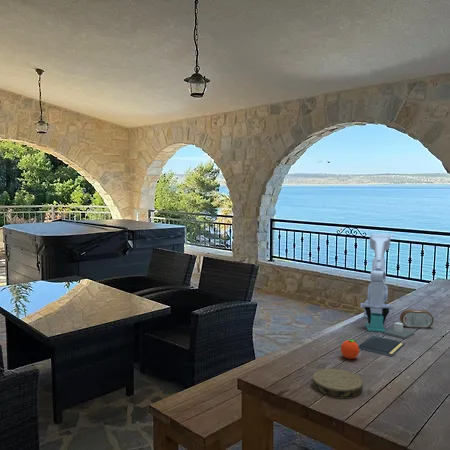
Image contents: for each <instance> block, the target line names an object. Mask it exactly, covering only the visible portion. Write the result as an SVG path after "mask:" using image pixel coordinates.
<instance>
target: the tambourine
mask: <svg viewBox="0 0 450 450" xmlns="http://www.w3.org/2000/svg"><path fill="white" fill-rule="evenodd" d="M363 385H364V381H363V380H362V377H360V376H359V375H358V374H356V373H353V372H351V371H347V370H344V369H338V368H323V369H320V370H316V371H315V372H314V373H313V375H312V386H313V388H314V389H315V390H316V391H317V392H319V393H321V394H323V395H326V396H329V397H332V398H338V399H350V398H356V397H358V396H360V395H361V394H363V390H364V389H363Z"/></svg>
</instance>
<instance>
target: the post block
mask: <svg viewBox="0 0 450 450" xmlns="http://www.w3.org/2000/svg"><path fill="white" fill-rule="evenodd" d="M382 334H383V335H386V336H390V337H395V338H398V339H401V340H406V339H408V338H410V337H412V336H414V335H415V332H414V331H410V330H406V329H404V324H403V323H402V322H399V321H397V322H395V323H394V326H392V327H390V328H388V329H386V330H385V331H383V332H382Z"/></svg>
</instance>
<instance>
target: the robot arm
mask: <svg viewBox="0 0 450 450" xmlns="http://www.w3.org/2000/svg"><path fill="white" fill-rule="evenodd" d="M390 246H391V234H390V233H377V232H376V233H375V232H374V233H373V232H371V233H370V234H369V247H370V249H371V250H373V251H374V258H373V259H372V264H371V265H372V267H371V271H370V283H369V284H368V285H367V296H366V297H367V299H365V302H360V308H361V309H363V315H362V317H363V318H366V319H367V324H370V316H371V313H381V314H382V315H383V326H384V325H385V321H386V319H388V317H387V316H388V315H389V313H390V311H393V310H394V305H393V304H386V302H387V301H388V297H389V296H388V294H389V290H388V289H389V287H388V285H387V284H385V283H386V275H387V274H386V273H387V272H386V260H385V258H384V256H385V252H386V251H389V249H390Z"/></svg>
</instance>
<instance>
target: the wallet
mask: <svg viewBox="0 0 450 450" xmlns="http://www.w3.org/2000/svg"><path fill="white" fill-rule="evenodd" d="M405 345H406V343H405V342H402V341H399V340H395V339H392V338H391V339H390V338H386V337H381V336H378V335H372V336H370V337H368V338H367V339H366V340H365V341H363V342H362V343H360V344H358V347H359V350H360V351H365V352H370V353H374V354H377V355H381V356H387V357H391V358H393V357H394V356H395V355H396V354H397V353H398V352H399V351H400V350H401V349H402V348H403V347H404V346H405Z"/></svg>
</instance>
